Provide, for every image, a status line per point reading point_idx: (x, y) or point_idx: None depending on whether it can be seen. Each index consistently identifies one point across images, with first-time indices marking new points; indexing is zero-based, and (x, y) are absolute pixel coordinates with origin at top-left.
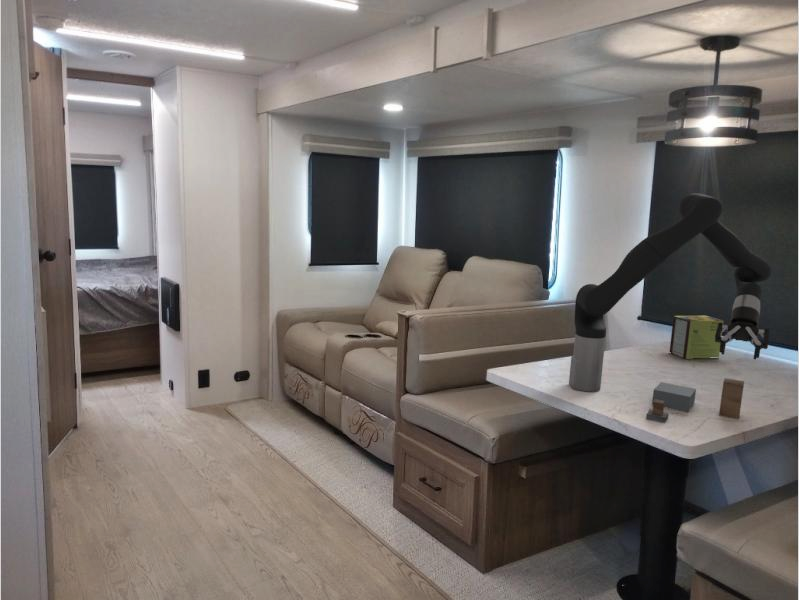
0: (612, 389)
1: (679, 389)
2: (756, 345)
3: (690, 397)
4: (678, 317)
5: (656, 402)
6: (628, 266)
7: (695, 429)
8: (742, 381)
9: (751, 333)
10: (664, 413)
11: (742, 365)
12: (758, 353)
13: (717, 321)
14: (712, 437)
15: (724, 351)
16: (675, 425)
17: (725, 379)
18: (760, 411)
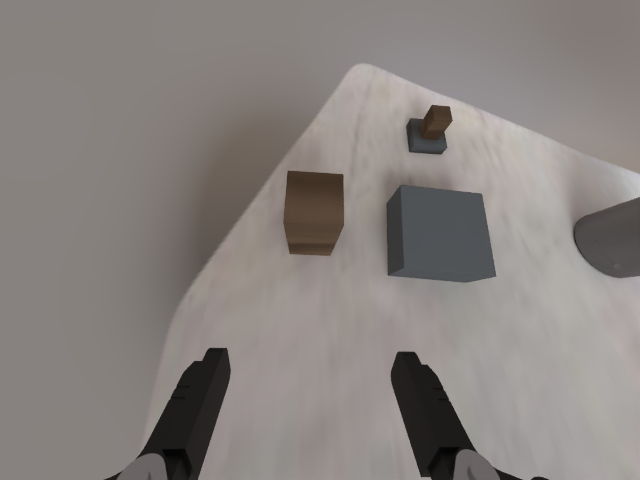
0: (562, 270)
1: (436, 232)
2: (172, 468)
3: (399, 192)
4: None
5: (443, 106)
6: None
7: (359, 122)
8: (289, 217)
9: None
10: (418, 137)
11: None
12: (189, 376)
13: None
14: (331, 103)
15: (398, 389)
16: (389, 124)
17: (340, 209)
18: (239, 314)
